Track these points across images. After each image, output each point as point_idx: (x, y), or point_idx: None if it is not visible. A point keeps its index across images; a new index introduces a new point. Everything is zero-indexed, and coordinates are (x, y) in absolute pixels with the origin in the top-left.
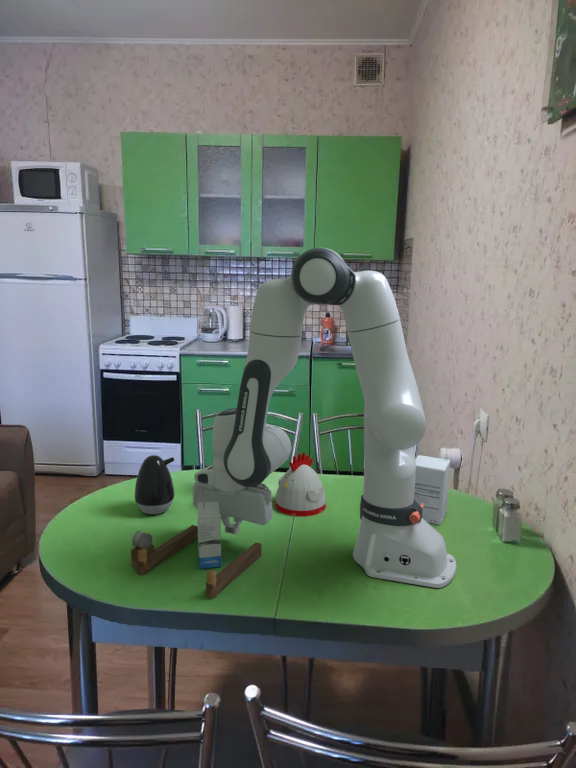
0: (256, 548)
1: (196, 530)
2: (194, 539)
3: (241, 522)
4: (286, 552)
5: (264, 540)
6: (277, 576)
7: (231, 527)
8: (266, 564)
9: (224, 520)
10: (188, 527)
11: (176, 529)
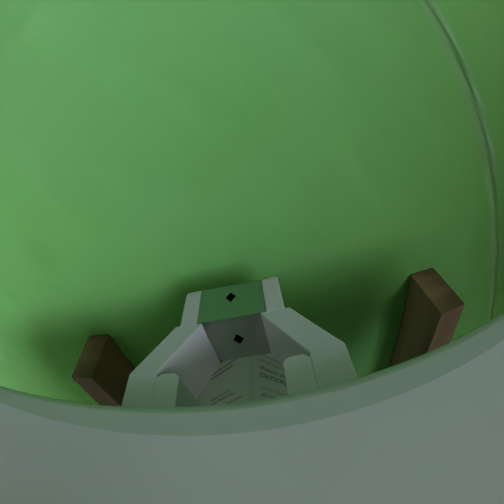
0: (450, 333)
1: (102, 370)
2: (119, 352)
3: (315, 326)
4: (491, 181)
5: (384, 137)
6: (484, 305)
7: (258, 354)
8: (457, 290)
9: (195, 397)
10: (90, 395)
11: (26, 328)
